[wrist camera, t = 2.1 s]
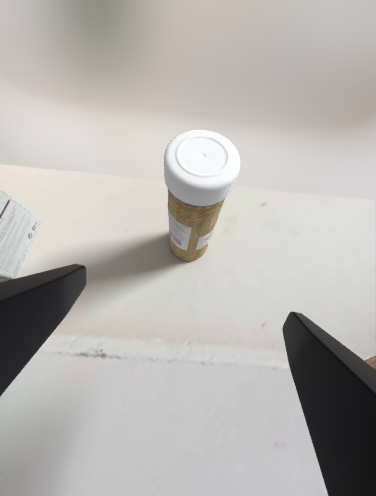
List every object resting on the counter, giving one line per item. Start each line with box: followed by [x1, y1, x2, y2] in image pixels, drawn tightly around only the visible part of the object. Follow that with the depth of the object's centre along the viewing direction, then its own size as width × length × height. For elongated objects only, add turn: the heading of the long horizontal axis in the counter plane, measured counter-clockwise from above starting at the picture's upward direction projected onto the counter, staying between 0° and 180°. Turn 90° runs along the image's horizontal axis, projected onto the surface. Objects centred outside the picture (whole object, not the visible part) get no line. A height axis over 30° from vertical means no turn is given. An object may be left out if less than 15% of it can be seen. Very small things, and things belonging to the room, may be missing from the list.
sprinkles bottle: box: [164, 130, 240, 261], centre depth 18 cm, size 5×5×14 cm
